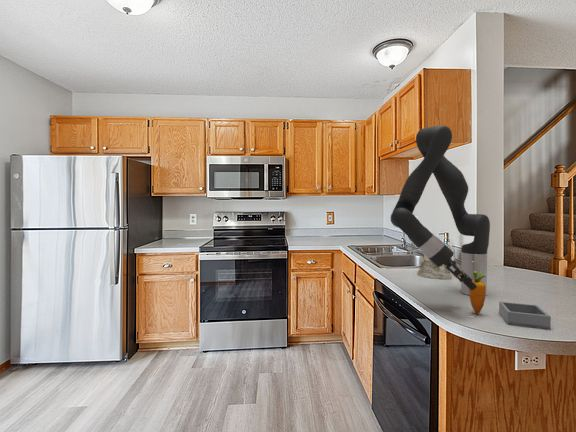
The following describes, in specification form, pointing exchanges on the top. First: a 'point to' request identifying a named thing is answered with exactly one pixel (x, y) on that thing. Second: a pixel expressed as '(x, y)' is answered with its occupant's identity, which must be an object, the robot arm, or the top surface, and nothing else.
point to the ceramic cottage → (433, 270)
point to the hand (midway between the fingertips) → (472, 285)
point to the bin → (524, 315)
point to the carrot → (478, 293)
